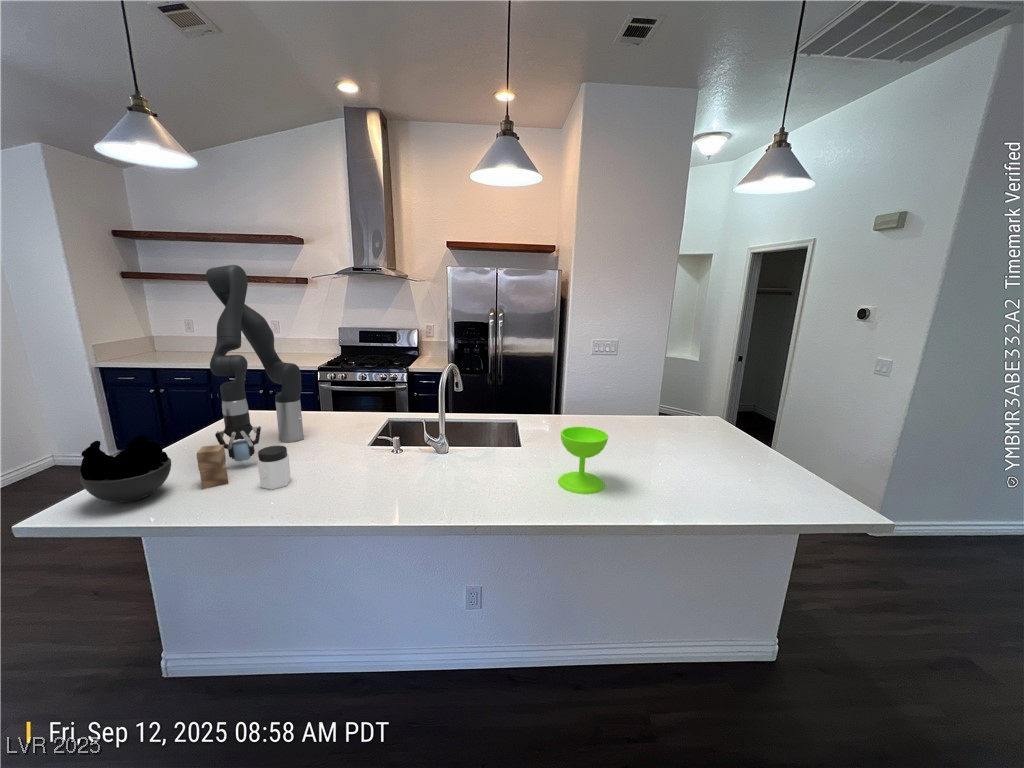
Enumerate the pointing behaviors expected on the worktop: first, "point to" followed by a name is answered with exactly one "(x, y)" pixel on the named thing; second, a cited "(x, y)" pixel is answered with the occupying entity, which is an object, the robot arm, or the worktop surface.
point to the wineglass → (582, 458)
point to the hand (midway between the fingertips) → (242, 456)
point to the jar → (274, 467)
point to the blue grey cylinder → (241, 450)
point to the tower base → (214, 477)
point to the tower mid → (211, 457)
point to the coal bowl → (124, 471)
